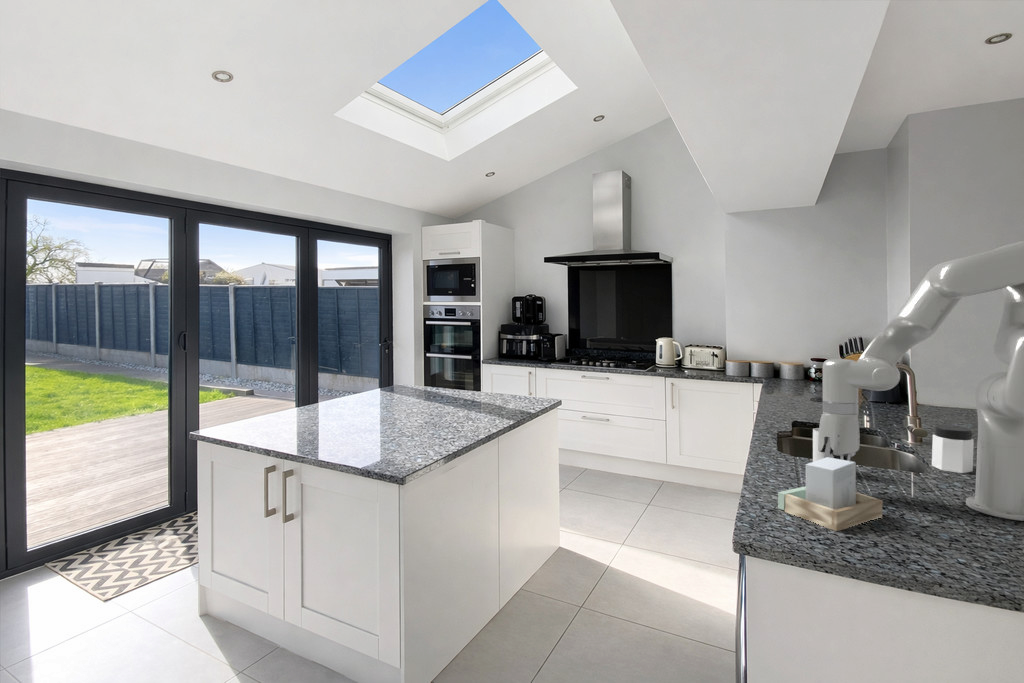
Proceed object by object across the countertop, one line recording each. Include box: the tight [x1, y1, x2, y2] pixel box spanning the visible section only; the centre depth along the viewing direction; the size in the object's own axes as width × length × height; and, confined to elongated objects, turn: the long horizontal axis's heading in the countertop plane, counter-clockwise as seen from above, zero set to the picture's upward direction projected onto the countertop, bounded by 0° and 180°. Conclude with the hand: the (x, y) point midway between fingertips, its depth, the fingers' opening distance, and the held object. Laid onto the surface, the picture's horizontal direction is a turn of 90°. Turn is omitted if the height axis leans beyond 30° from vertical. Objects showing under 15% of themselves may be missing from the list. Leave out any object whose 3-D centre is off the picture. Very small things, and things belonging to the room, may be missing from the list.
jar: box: [931, 424, 975, 474], centre depth 146 cm, size 9×8×12 cm
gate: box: [777, 485, 806, 511], centre depth 120 cm, size 5×18×5 cm, turn 115°
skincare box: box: [805, 457, 857, 510], centre depth 113 cm, size 10×6×10 cm, turn 124°
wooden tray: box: [784, 491, 884, 532], centre depth 112 cm, size 12×16×4 cm
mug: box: [812, 427, 825, 462], centre depth 144 cm, size 10×7×12 cm, turn 120°
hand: (840, 480), depth 127 cm, fingers closed
